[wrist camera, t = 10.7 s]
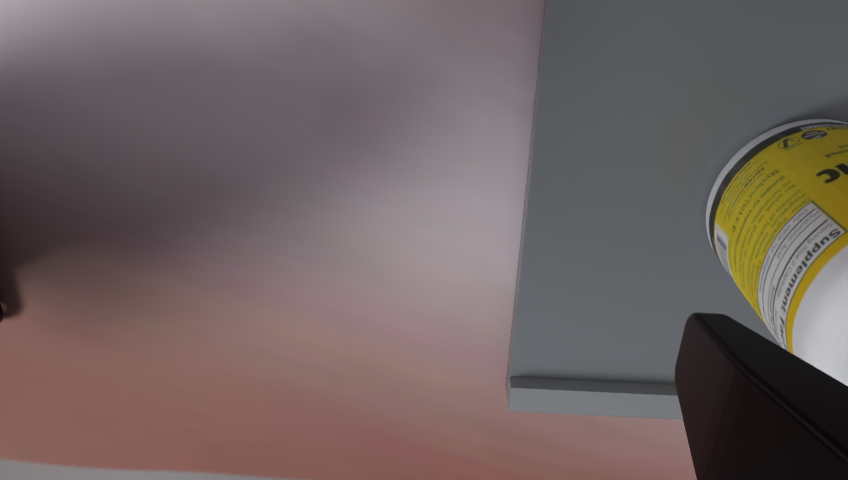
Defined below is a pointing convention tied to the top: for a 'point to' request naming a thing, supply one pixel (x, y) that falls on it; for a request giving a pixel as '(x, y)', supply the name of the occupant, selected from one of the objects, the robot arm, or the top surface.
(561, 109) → the gray tray
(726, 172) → the supplement bottle
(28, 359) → the top surface
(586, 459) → the top surface
